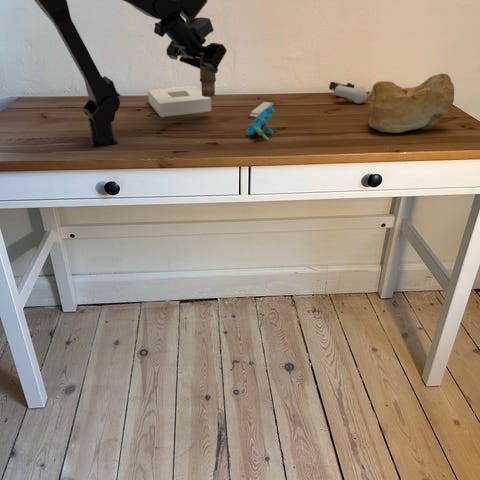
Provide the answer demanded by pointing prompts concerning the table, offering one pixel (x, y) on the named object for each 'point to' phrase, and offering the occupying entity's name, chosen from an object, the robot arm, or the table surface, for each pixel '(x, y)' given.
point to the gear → (261, 124)
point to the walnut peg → (207, 81)
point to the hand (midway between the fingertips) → (211, 70)
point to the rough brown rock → (410, 104)
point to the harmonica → (260, 110)
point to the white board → (179, 101)
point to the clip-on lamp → (349, 92)
